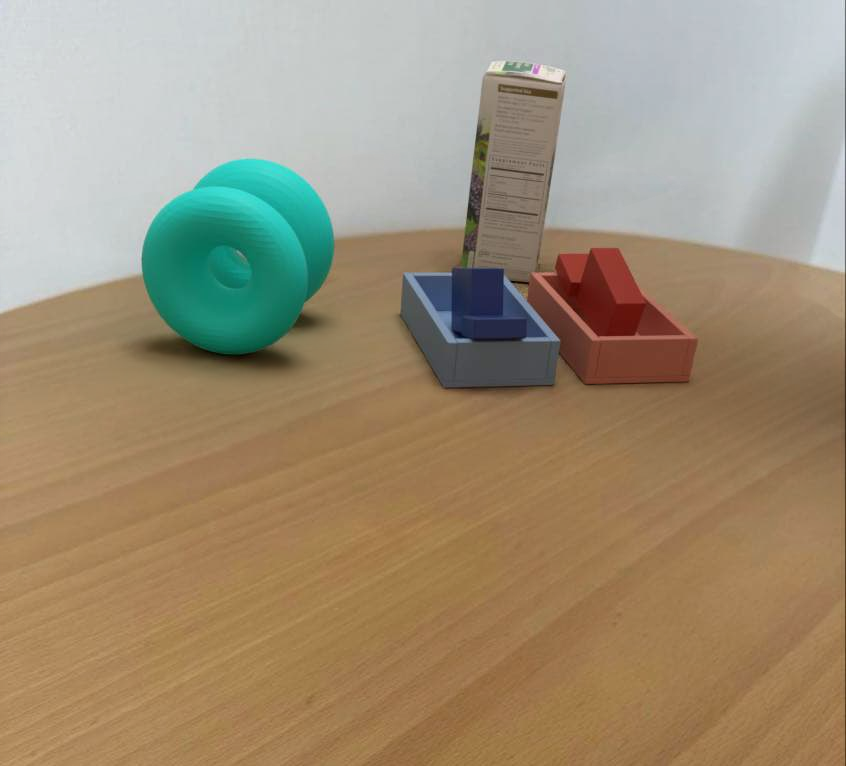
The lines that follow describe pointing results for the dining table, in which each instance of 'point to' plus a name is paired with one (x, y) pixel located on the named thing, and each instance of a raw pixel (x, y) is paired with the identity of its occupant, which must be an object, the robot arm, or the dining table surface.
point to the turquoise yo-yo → (238, 256)
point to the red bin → (614, 339)
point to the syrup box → (512, 167)
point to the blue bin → (476, 358)
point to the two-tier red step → (603, 290)
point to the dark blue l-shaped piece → (482, 305)
